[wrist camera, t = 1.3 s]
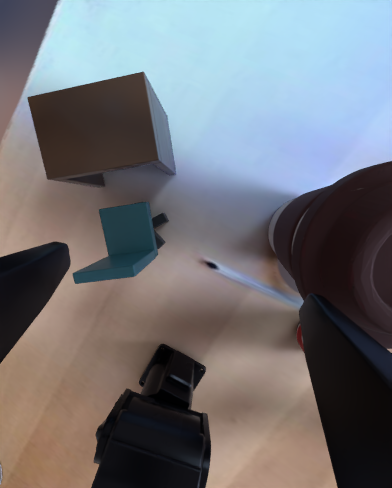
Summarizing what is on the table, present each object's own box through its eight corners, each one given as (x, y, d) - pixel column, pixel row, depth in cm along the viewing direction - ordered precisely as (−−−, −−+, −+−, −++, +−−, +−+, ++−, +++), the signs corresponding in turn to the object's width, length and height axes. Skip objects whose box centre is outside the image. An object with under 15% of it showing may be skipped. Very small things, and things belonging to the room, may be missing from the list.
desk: (176, 174, 25) (158, 159, 17) (98, 187, 26) (47, 179, 18) (167, 115, 24) (143, 71, 16) (86, 131, 25) (26, 96, 17)
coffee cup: (236, 223, 25) (269, 249, 10) (314, 163, 23) (487, 92, 9) (289, 291, 26) (389, 407, 11) (368, 239, 24) (609, 291, 9)
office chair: (173, 246, 26) (143, 275, 15) (126, 252, 27) (66, 285, 16) (165, 199, 25) (128, 194, 14) (117, 206, 26) (47, 207, 15)
